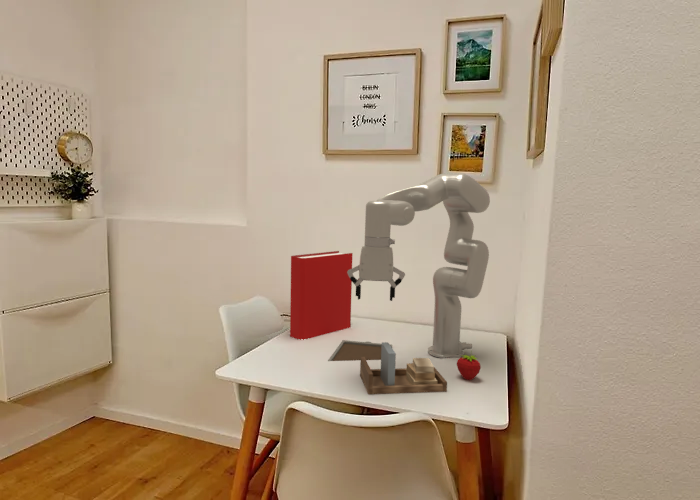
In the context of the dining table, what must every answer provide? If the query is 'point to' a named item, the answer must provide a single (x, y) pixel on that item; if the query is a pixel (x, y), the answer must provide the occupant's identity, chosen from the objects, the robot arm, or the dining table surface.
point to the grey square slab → (387, 364)
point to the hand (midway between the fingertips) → (375, 299)
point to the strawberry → (468, 366)
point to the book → (320, 294)
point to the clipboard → (356, 351)
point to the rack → (396, 381)
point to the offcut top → (423, 365)
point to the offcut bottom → (419, 382)
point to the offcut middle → (419, 376)
